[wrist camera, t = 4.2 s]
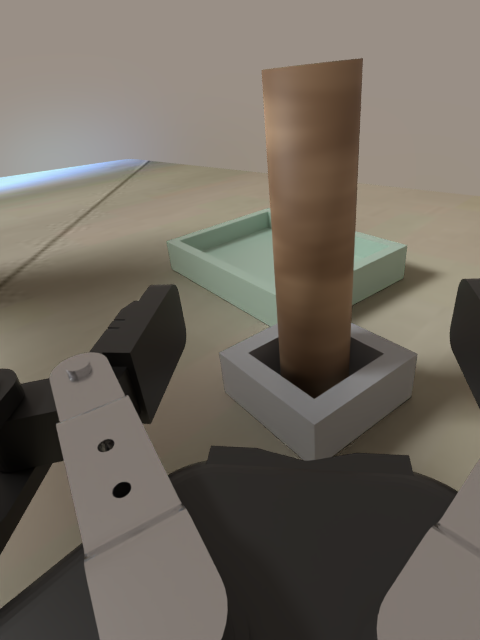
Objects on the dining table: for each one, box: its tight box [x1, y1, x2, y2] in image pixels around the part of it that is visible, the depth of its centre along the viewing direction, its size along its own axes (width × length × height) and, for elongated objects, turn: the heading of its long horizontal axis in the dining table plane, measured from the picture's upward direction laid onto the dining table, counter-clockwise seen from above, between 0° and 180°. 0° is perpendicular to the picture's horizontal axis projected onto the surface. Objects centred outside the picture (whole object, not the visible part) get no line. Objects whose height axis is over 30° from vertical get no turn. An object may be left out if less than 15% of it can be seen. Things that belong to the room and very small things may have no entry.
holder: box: [219, 323, 417, 461], centre depth 20 cm, size 6×6×2 cm
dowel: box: [262, 58, 363, 399], centre depth 17 cm, size 3×3×14 cm
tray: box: [166, 208, 407, 327], centre depth 32 cm, size 15×11×2 cm
